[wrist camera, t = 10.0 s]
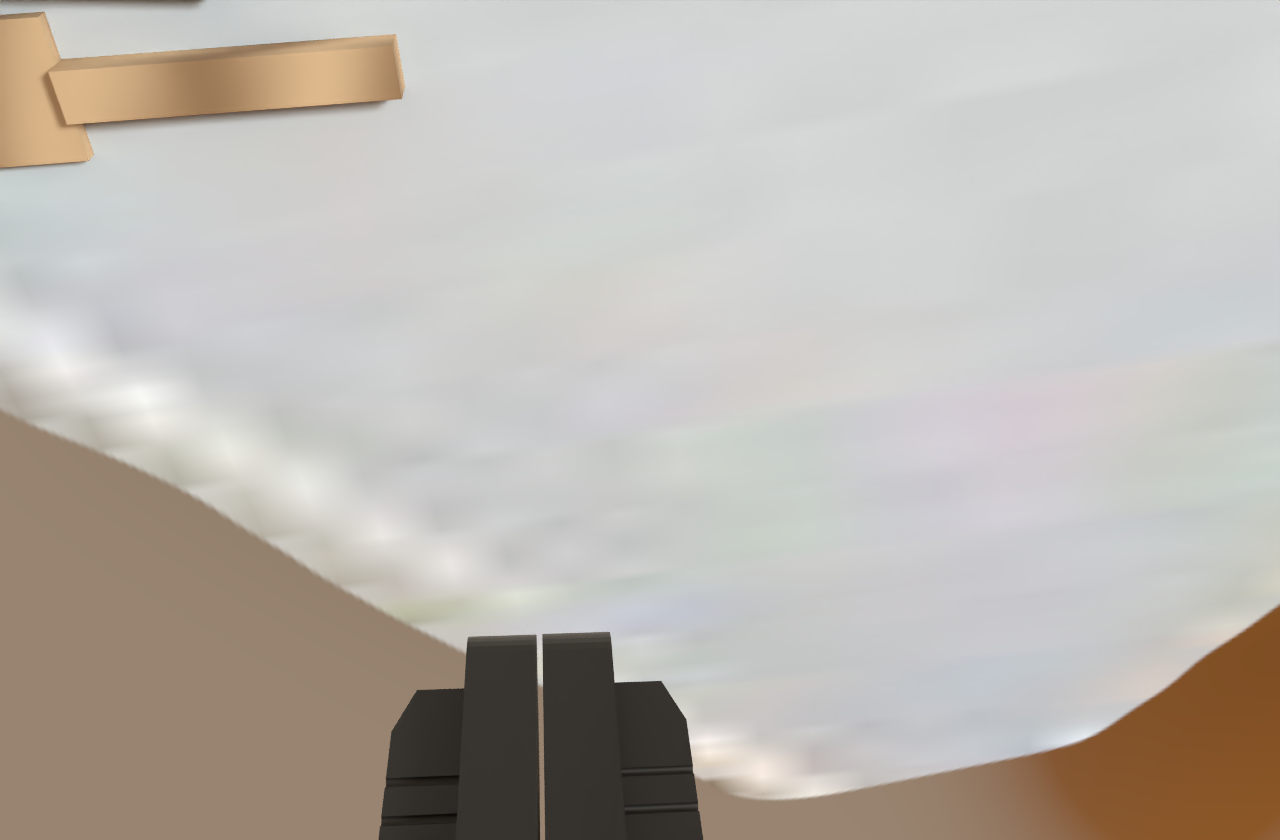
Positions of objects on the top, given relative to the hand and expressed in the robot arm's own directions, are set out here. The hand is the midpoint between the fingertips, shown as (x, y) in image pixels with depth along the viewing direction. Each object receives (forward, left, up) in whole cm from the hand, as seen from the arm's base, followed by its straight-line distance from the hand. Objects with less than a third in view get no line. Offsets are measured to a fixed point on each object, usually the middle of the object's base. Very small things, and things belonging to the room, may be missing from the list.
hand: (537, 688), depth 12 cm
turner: (+3, -12, -27) cm, 30 cm away
